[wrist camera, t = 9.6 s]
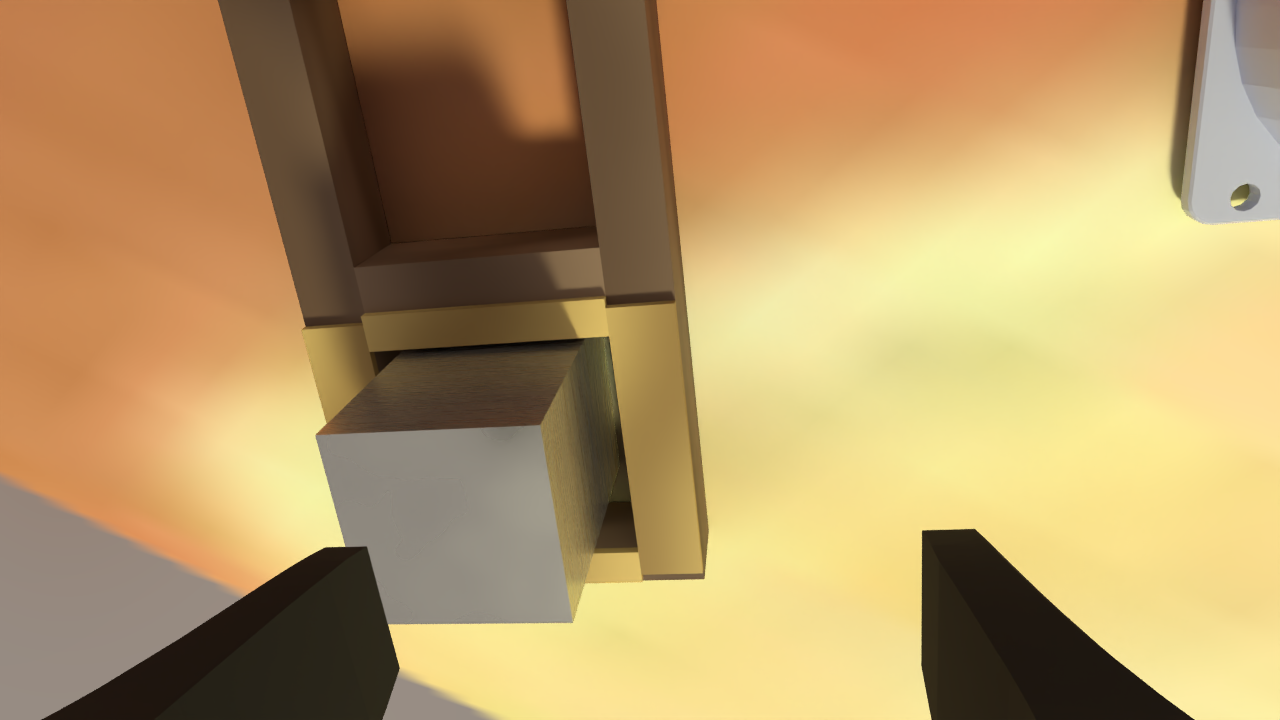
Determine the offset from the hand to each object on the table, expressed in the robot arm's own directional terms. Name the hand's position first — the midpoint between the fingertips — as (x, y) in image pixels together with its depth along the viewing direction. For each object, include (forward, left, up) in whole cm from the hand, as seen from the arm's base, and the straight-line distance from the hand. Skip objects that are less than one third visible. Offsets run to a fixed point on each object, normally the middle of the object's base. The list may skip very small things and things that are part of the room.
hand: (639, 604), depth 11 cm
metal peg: (+4, +1, -10) cm, 10 cm away
